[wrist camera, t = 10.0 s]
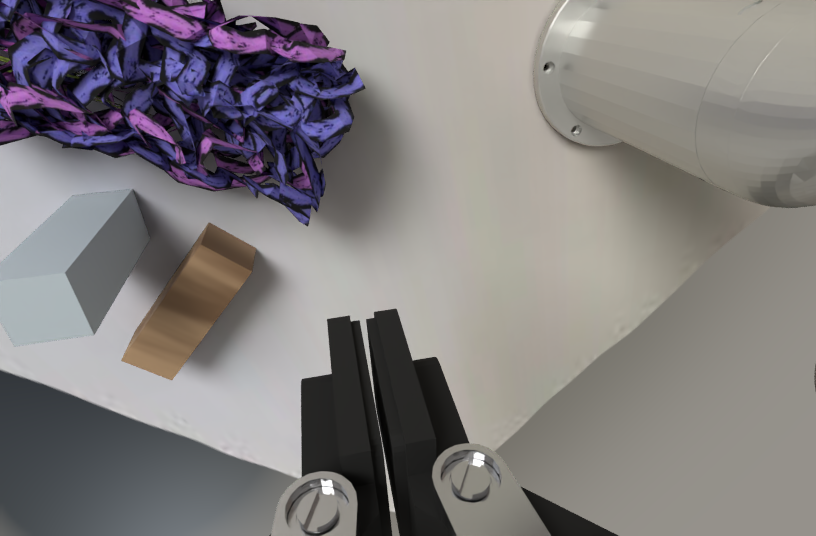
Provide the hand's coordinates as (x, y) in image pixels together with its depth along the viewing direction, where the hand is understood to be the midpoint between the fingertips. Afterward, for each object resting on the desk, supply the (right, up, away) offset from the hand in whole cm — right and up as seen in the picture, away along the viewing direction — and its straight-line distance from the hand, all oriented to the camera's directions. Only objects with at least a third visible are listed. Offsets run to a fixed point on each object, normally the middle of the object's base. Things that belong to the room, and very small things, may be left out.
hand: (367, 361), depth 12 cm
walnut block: (-12, +4, +25) cm, 28 cm away
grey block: (-21, +6, +24) cm, 32 cm away
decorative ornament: (-17, +16, +19) cm, 30 cm away
